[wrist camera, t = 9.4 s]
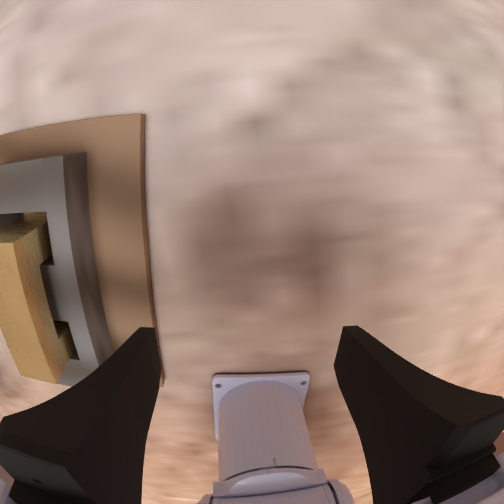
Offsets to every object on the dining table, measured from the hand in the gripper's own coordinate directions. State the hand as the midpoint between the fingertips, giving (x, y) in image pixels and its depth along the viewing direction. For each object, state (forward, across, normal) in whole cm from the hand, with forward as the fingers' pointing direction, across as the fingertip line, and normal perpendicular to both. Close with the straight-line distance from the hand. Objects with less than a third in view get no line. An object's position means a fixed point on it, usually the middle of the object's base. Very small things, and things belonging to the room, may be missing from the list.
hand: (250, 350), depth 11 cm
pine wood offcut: (+8, +13, +1) cm, 15 cm away
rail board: (+9, +13, +1) cm, 16 cm away
